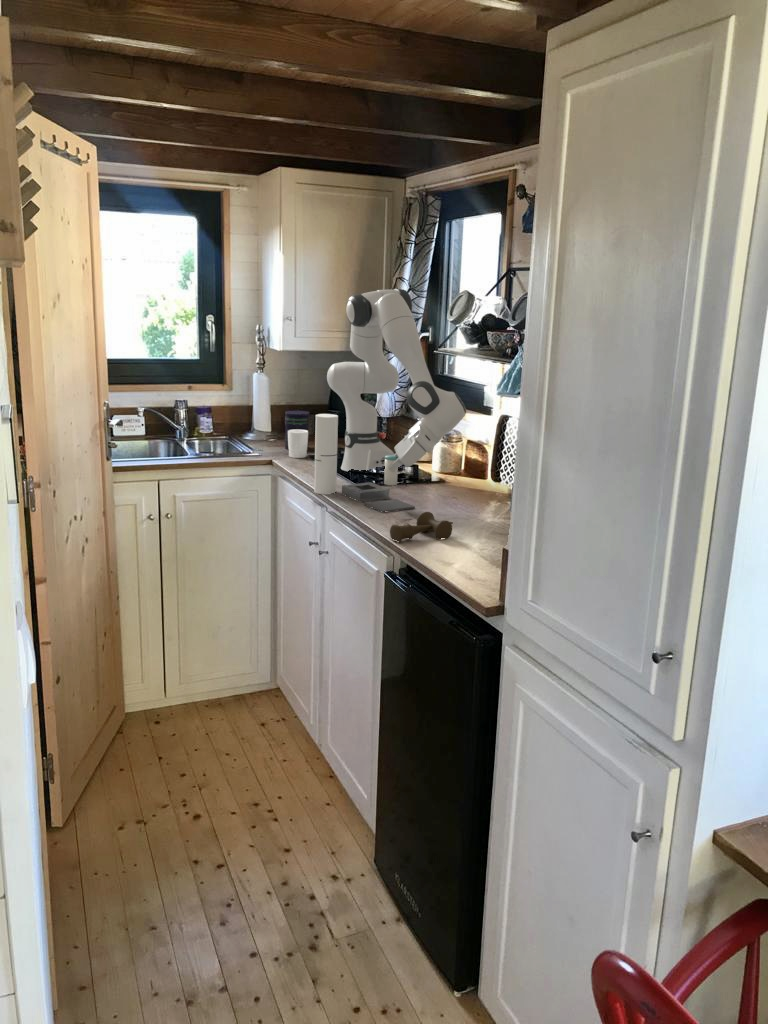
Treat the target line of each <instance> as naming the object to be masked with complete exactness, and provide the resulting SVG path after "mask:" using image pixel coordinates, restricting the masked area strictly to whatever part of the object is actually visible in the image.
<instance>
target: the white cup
mask: <svg viewBox="0 0 768 1024" xmlns="http://www.w3.org/2000/svg"><path fill="white" fill-rule="evenodd" d="M308 435H309V430H308V431H307V430H300V429H294V430H288V448H289V450H288V457H290V458H293V459H303V458H306V457H307V452H308V450H307V444H309V443H308V440H309V439H308Z"/></svg>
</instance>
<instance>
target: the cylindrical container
mask: <svg viewBox="0 0 768 1024" xmlns="http://www.w3.org/2000/svg"><path fill="white" fill-rule="evenodd" d="M338 426H339V415H337V414H332V413H318V414H315V425H314V427H315V429H314V430H315V431H314V432H315V433H314V434H315V435H314V436H315V437H314V438H315V439H314V444H315V445H314V485H313V486H314V489H313V490H314V493H315V494H318V495H319V494H320V495H326V494H325V493H334V494H336V493H337V478H338V477H337V472H338V471H337V470H338V468H337V467H338V431H339V429H338V428H339V427H338ZM335 492H336V493H335Z"/></svg>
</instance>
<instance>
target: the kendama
mask: <svg viewBox="0 0 768 1024" xmlns="http://www.w3.org/2000/svg"><path fill="white" fill-rule="evenodd" d="M416 519H417V520H416V525H412V524H409V523H407V522H406V523H404V524H403V525H398V524H396V523H394V524H392V525H390V529H389V536H390V539H391V538H392V539H394V540H397V541H401V542H402V540H405V539H406V538H409V539H408V540H411V539H413V537H414V536H415V535H418V534H421V533H425V532H424V531H428V532H432V533H434V536H436V539H437V538H438V539H437V540H439V539H441V538H448V537H449V538H450V537H451V535H452V533H453V524H454V522H453V521H449V520H441V521H438V520H436V519H435V516H434V514H433V513H432V512H430V511H424V512H422V513H420V514H419V515H418V517H417V518H416ZM449 538H448V539H449ZM392 539H391V540H392Z"/></svg>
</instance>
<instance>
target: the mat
mask: <svg viewBox="0 0 768 1024" xmlns="http://www.w3.org/2000/svg"><path fill="white" fill-rule="evenodd" d="M364 504H366V505H368V506H370V507H373V508H375V509H377V510H379V511H382V512H384V513H386V512H385V511H392V512H398V511H397V510H399V511H404V509H406V510H412V509H415V508H416V507H415V506H414V505H413V504H410V503H407V502H405V501H403V500H400V499H397V498H394V499H384V500H376V501H369V502H364ZM366 505H365V506H366ZM368 506H367V507H368ZM370 507H369V508H370ZM375 509H374V510H375ZM377 510H376V511H377ZM379 511H378V512H379ZM382 512H381V513H382Z"/></svg>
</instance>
